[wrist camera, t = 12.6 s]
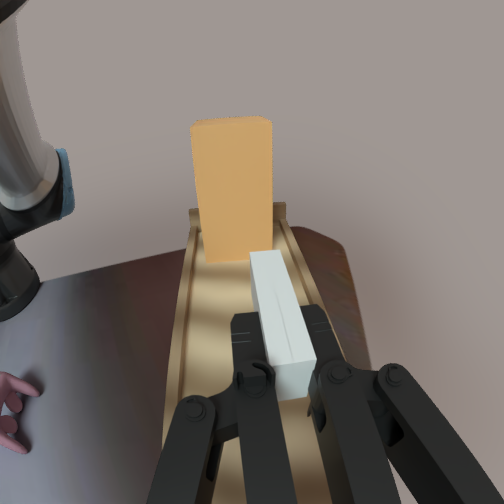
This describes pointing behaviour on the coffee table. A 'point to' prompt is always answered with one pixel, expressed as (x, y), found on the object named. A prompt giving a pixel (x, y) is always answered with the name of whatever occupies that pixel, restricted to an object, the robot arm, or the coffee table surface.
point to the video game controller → (12, 408)
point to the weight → (234, 185)
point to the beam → (221, 360)
